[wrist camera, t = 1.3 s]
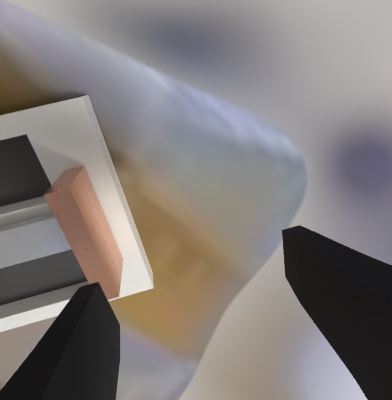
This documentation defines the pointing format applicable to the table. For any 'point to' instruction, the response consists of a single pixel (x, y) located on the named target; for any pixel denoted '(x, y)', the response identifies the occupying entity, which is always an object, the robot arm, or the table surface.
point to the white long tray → (68, 232)
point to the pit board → (37, 206)
